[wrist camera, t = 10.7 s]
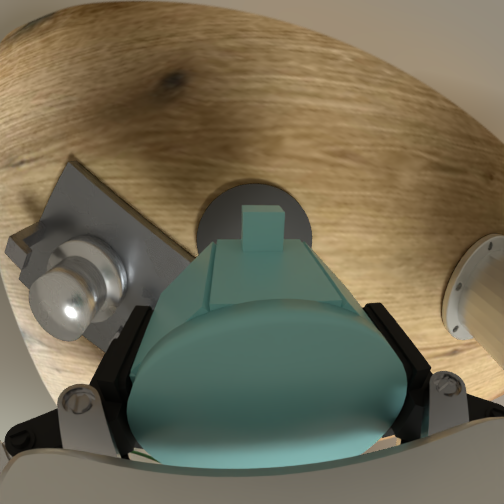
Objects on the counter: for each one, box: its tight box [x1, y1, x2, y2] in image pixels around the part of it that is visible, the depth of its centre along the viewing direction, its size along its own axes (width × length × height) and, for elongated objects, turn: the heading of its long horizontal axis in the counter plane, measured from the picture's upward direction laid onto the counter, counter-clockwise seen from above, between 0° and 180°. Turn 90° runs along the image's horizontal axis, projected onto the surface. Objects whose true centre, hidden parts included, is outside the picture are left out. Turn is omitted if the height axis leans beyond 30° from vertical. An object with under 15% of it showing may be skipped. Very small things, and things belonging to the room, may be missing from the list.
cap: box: [127, 205, 407, 469], centre depth 9 cm, size 10×7×5 cm
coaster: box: [197, 184, 312, 254], centre depth 21 cm, size 8×8×1 cm
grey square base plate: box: [5, 161, 195, 352], centre depth 19 cm, size 13×13×7 cm
